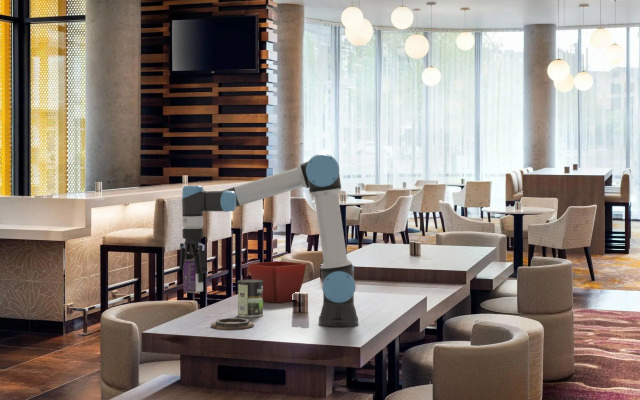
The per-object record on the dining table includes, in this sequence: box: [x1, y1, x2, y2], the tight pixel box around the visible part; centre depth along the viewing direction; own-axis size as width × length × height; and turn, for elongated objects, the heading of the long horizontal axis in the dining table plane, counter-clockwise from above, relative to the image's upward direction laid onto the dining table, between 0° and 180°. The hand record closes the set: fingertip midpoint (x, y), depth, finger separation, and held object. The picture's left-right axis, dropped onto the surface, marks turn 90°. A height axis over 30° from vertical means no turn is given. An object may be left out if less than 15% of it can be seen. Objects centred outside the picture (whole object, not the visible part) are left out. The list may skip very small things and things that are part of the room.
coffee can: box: [237, 278, 264, 318], centre depth 337 cm, size 10×10×14 cm
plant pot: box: [248, 260, 307, 304], centre depth 377 cm, size 19×19×17 cm
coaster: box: [210, 317, 255, 331], centre depth 312 cm, size 16×16×2 cm
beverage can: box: [182, 258, 202, 294], centre depth 305 cm, size 7×7×12 cm
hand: (193, 290), depth 305 cm, fingers closed on beverage can, 7 cm apart
